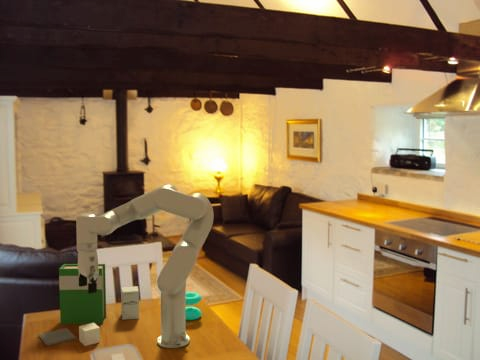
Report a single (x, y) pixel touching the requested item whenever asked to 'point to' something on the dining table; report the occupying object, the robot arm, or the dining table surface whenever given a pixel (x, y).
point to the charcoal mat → (56, 336)
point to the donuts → (192, 299)
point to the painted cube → (89, 334)
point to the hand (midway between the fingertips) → (87, 289)
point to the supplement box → (130, 302)
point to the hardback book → (81, 297)
